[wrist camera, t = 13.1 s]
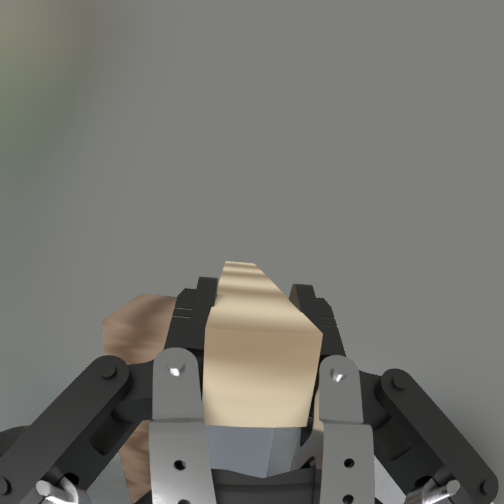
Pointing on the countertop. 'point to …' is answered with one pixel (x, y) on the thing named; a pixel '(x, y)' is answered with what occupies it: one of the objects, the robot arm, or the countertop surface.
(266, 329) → the birch bar
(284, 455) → the countertop surface
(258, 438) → the slate grooved rack
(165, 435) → the robot arm
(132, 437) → the walnut pedestal
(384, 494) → the countertop surface
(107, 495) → the countertop surface
